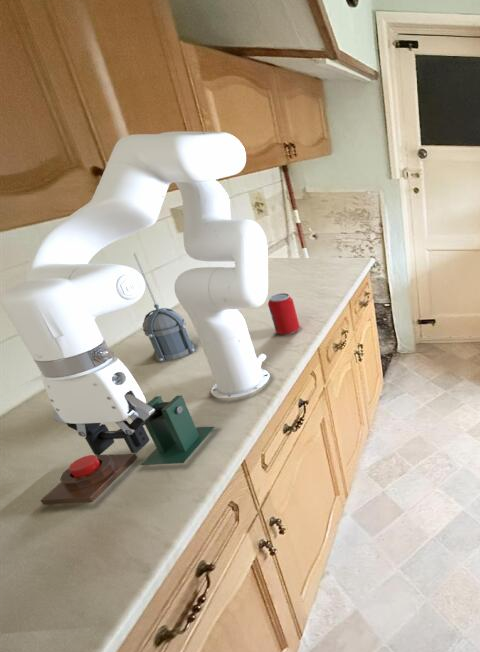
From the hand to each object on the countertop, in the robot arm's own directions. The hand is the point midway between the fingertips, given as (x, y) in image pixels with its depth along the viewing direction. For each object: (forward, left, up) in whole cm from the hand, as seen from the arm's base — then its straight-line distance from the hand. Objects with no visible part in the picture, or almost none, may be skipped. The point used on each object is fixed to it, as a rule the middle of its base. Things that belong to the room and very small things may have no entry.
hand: (122, 447), depth 68 cm
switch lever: (-5, 0, 0) cm, 5 cm away
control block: (-2, -10, -10) cm, 14 cm away
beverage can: (-60, 0, -10) cm, 61 cm away
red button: (-2, -10, -7) cm, 12 cm away
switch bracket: (-10, 0, -10) cm, 14 cm away
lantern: (-49, -27, -10) cm, 57 cm away
